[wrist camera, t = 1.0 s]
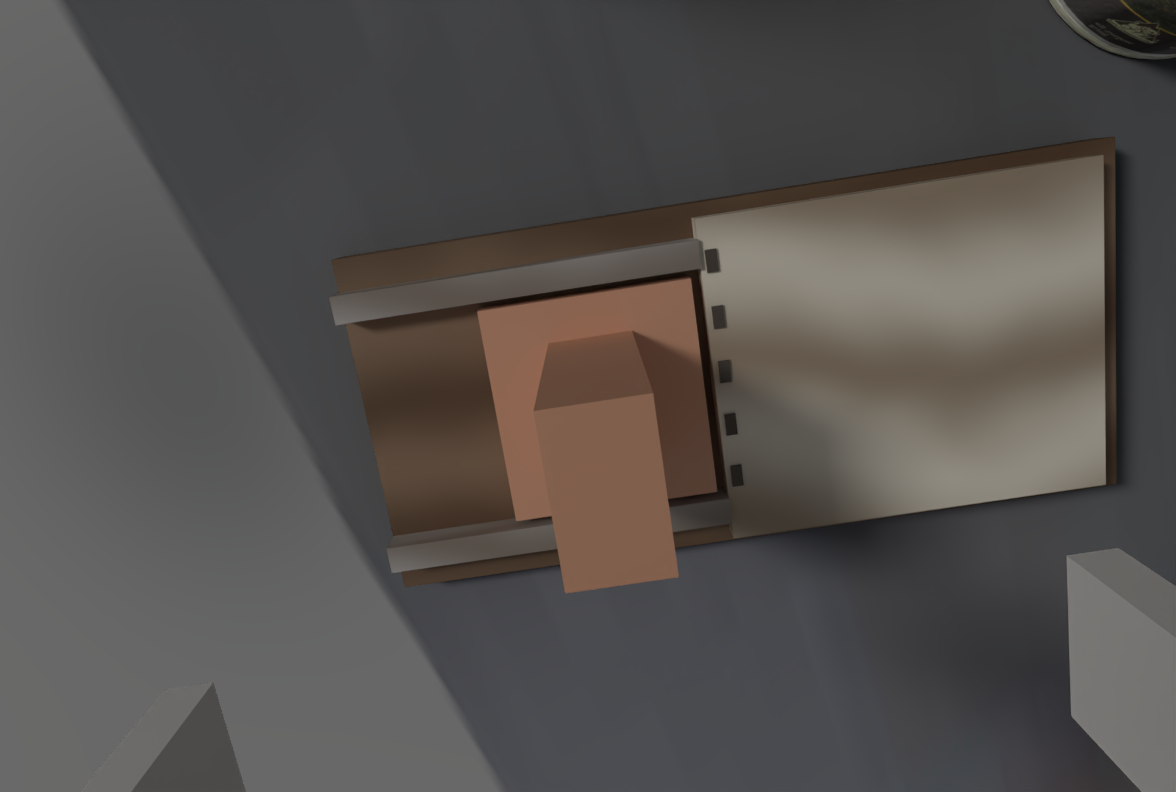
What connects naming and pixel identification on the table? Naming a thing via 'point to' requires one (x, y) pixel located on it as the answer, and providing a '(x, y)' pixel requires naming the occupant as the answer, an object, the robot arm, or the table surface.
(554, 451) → the stub
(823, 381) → the board
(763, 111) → the table surface
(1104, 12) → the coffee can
